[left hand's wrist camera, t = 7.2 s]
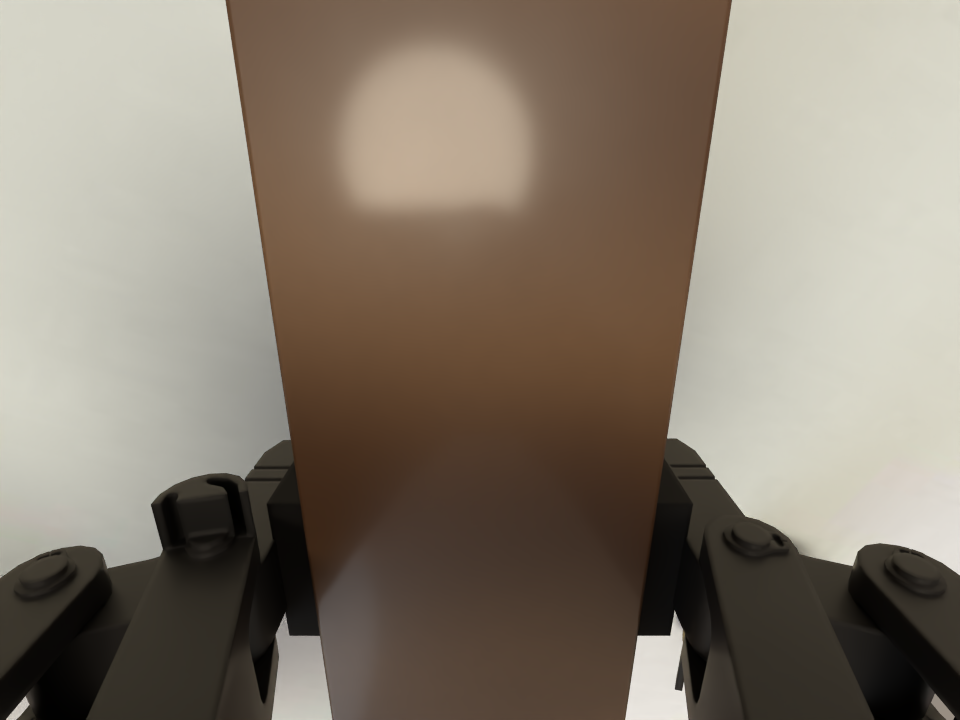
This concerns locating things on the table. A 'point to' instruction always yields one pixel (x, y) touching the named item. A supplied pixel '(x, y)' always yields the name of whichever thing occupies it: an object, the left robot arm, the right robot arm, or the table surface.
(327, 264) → the post
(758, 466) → the table surface
